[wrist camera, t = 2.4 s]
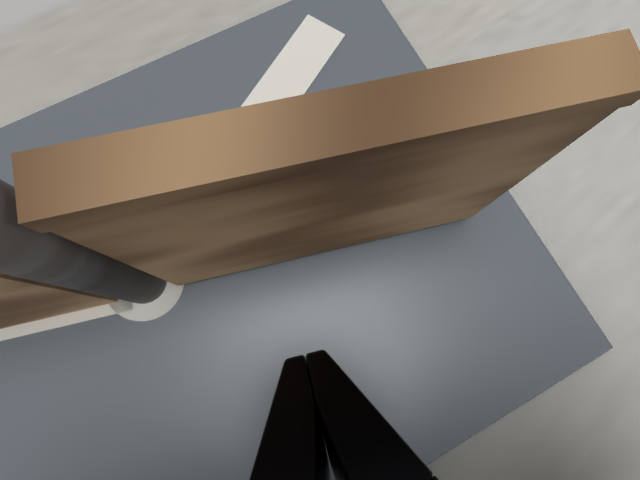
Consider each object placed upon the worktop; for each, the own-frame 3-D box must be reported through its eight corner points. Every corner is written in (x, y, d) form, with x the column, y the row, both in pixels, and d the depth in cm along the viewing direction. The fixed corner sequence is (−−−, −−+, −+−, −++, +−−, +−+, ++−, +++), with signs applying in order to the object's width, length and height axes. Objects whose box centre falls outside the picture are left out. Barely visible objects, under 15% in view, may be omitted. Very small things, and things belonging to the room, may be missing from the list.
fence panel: (178, 288, 15) (17, 223, 7) (172, 255, 15) (11, 153, 7) (472, 220, 16) (655, 87, 8) (462, 189, 16) (629, 28, 8)
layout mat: (605, 347, 16) (614, 347, 15) (-13, 735, 13) (-26, 750, 12) (360, -23, 19) (361, -32, 19) (-180, 215, 16) (-194, 211, 16)
